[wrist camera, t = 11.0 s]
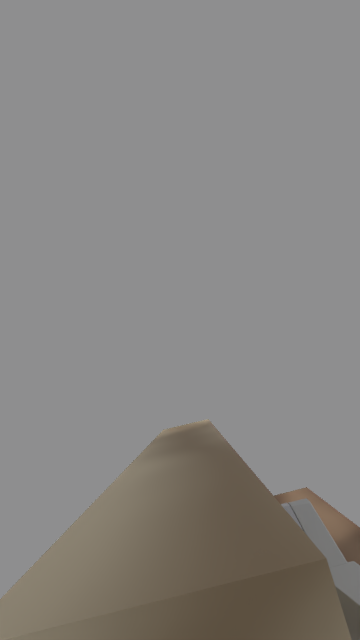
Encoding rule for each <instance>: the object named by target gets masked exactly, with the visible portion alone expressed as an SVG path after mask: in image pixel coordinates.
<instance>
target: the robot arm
mask: <svg viewBox="0 0 360 640" xmlns="http://www.w3.org/2000/svg"><path fill="white" fill-rule="evenodd" d="M281 505H282V507H283V508H284V509H285V510H286V511H287V512H288V514H289V515H290V516H291V517H292V518H293V520H294V521H295V522H296V523H297V524H298V525H299V527H300V528H301V529H302V530H303V531H304V532H305V534H306V535H307V536H308V537H309V538H310V540H311V541H312V542H313V543H314V544H315V545H316V547H317V548H318V549H319V550H320V551H321V552H322V554H323V555H324V556H325V557H326V558H327V562H328V565H329V568H330V571H331V574H332V578H333V581H334V584H335V587H336V591H337V594H338V597H339V600H340V603H341V607H342V610H343V613H344V616H345V620H346V623H347V626H348V629H349V632H350V636H351V639H352V640H360V565H359V564H357V563H356V562H354V561H351V562H347V561H346V559H345V558H344V556H343V554H342V553H341V551H340V549H339V548H338V546H337V545H336V543H335V541H334V540H333V538H332V536H331V535H330V533H329V532H328V530H327V528H326V527H325V525H324V523H323V522H322V520H321V518H320V517H319V515H318V514H317V512H316V510H315V509H314V507H313V505H312V504H311V502H310V501H309V500H308V499H307V498H305V499H301V500H297V501H293V502H289V503H283V504H281Z"/></svg>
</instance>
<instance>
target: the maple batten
mask: <svg viewBox="0 0 360 640" xmlns="http://www.w3.org/2000/svg"><path fill="white" fill-rule="evenodd" d="M0 640H352V639H351V636H350V632H349V629H348V626H347V623H346V620H345V616H344V613H343V610H342V607H341V603H340V600H339V597H338V594H337V591H336V587H335V584H334V581H333V578H332V574H331V571H330V568H329V565H328V562H327V558H326V557H325V556H324V555H323V554H322V552H321V551H320V550H319V549H318V548H317V547H316V545H315V544H314V543H313V542H312V541H311V540H310V538H309V537H308V536H307V535H306V534H305V532H304V531H303V530H302V529H301V528H300V527H299V525H298V524H297V523H296V522H295V521H294V520H293V518H292V517H291V516H290V515H289V514H288V512H287V511H286V510H285V509H284V508H283V507H282V505H281V504H280V503H279V502H278V501H277V499H276V498H275V497H274V496H273V495H272V494H271V493H270V491H269V490H268V489H267V488H266V487H265V485H264V484H263V483H262V482H261V481H260V480H259V478H258V477H257V476H256V475H255V474H254V472H253V471H252V470H251V469H250V468H249V467H248V465H247V464H246V463H245V462H244V461H243V460H242V458H241V457H240V456H239V455H238V454H237V453H236V451H235V450H234V449H233V448H232V447H231V445H230V444H229V443H228V442H227V441H226V439H225V438H224V437H223V436H222V435H221V434H220V433H219V431H218V430H217V429H216V428H215V426H214V425H213V424H212V423H211V422H210V421H209V419H207V420H203V421H199V422H194V423H190V424H186V425H182V426H178V427H173V428H169V429H165V430H163V431H162V432H161V433H160V434H159V435H158V436H157V437H156V438H155V439H154V440H153V441H152V442H151V443H150V444H149V445H148V446H147V448H146V449H145V450H144V451H143V452H142V453H141V454H140V455H139V456H138V457H137V458H136V459H135V460H134V461H133V462H132V463H131V464H130V465H129V466H128V467H127V468H126V469H125V470H124V471H123V472H122V473H121V474H120V476H119V477H118V478H117V479H116V480H115V481H114V482H113V483H112V484H111V485H110V486H109V487H108V488H107V489H106V490H105V491H104V492H103V493H102V494H101V495H100V496H99V498H98V499H96V500H95V502H94V503H93V504H92V505H91V506H90V507H89V508H88V509H87V510H86V511H85V512H84V513H83V514H82V515H81V516H80V517H79V518H78V519H77V520H76V521H75V522H74V523H73V524H72V525H71V526H70V528H68V530H67V531H66V532H65V533H64V534H63V535H62V536H61V537H60V538H59V539H58V540H57V541H56V542H55V543H54V544H53V545H52V546H51V547H50V548H49V549H48V550H47V551H46V552H45V553H44V554H43V555H42V557H41V558H40V559H39V560H38V561H37V562H36V563H35V564H34V565H33V566H32V567H31V568H30V569H29V570H28V571H27V572H26V573H25V574H24V575H23V576H22V577H21V578H20V579H19V580H18V581H17V582H16V584H15V585H14V586H13V587H12V588H11V589H10V590H9V591H8V592H7V593H6V594H5V595H4V596H3V597H2V598H1V599H0Z"/></svg>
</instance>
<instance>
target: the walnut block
mask: <svg viewBox="0 0 360 640" xmlns="http://www.w3.org/2000/svg"><path fill="white" fill-rule="evenodd" d="M274 497H275V498H276V499H277V501H278V502H279V503H280V504H283V503H289V502H293V501H297V500H301V499H305V498H307V499H308V500H309V501H310V502H311V504H312V505H313V507H314V509H315V510H316V512H317V514H318V515H319V517H320V518H321V520H322V522H323V523H324V525H325V527H326V528H327V530H328V532H329V533H330V535H331V536H332V538H333V540H334V541H335V543H336V545H337V546H338V548H339V549H340V551H341V553H342V554H343V556H344V558H345V559H346V561H347V562H351V561H354V562H356V563H357V564H359V565H360V528H359V527H358V526H357V525H355V524H354V523H353V522H352V521H350V520H349V519H347V518H346V517H345V516H344V515H342V514H341V513H340V512H338V511H337V510H336V509H334V508H333V507H332V506H331V505H329V504H328V503H327V502H325V501H324V500H323V499H321V498H320V497H319V496H317V495H316V494H315V493H313V492H312V491H311V490H309V489H308V488H307V487H306V488H302V489H298V490H295V491H291V492H287V493H283V494H279V495H275V496H274Z"/></svg>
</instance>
